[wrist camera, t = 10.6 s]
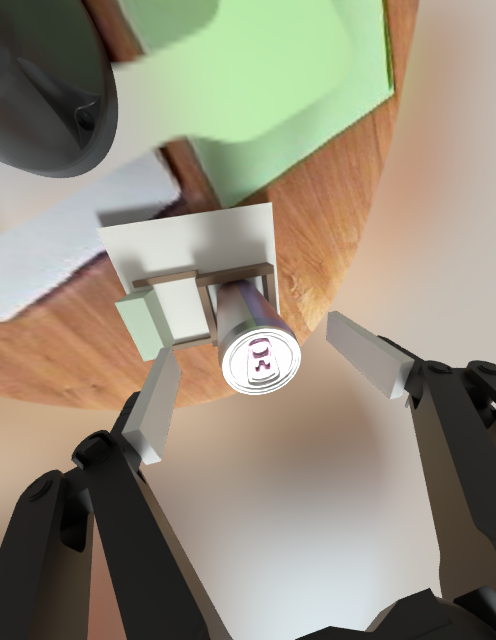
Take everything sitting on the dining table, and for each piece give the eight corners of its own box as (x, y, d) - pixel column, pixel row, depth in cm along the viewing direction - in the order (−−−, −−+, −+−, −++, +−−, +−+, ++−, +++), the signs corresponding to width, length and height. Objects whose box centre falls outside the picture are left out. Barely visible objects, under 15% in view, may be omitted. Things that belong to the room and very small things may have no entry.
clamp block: (130, 292, 23) (114, 303, 19) (154, 288, 23) (143, 297, 20) (153, 344, 26) (144, 361, 23) (174, 340, 27) (167, 356, 23)
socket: (197, 274, 23) (194, 279, 21) (267, 262, 24) (273, 265, 21) (213, 336, 27) (213, 346, 25) (272, 323, 28) (279, 332, 26)
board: (103, 229, 21) (92, 228, 19) (268, 204, 23) (273, 201, 21) (157, 347, 28) (152, 356, 26) (277, 322, 30) (282, 328, 28)
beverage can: (255, 273, 25) (303, 315, 11) (260, 312, 27) (304, 385, 14) (212, 281, 24) (208, 336, 11) (221, 321, 27) (228, 405, 13)
